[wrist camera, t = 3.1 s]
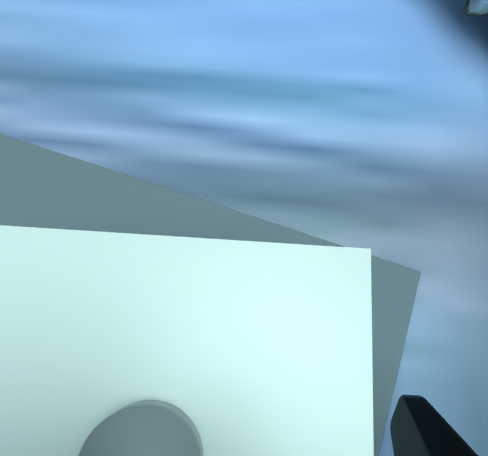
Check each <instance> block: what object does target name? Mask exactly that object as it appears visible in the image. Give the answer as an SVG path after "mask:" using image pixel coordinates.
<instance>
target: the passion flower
mask: <svg viewBox="0 0 488 456" xmlns="http://www.w3.org/2000/svg"><path fill="white" fill-rule="evenodd" d="M465 14H466V15H470V14H471V15H473V14H474V15H477V16H482V15H486V14H488V0H467V3H466V6H465Z"/></svg>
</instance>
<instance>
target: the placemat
mask: <svg viewBox="0 0 488 456" xmlns="http://www.w3.org/2000/svg"><path fill="white" fill-rule="evenodd" d="M0 225H4V226H20V227H35V228H51V229H67V230H83V231H98V232H114V233H130V234H146V235H161V236H177V237H193V238H209V239H224V240H240V241H256V242H272V243H287V244H303V245H319V246H335V247H344V246H341V245H338V244H335V243H332V242H329V241H326V240H323V239H319V238H316V237H313V236H310V235H307V234H304V233H301V232H298V231H295V230H292V229H289V228H286V227H283V226H280V225H277V224H274V223H271V222H268V221H265V220H262V219H259V218H255V217H252V216H249V215H246V214H243V213H240V212H237V211H234V210H231V209H228V208H225V207H222V206H219V205H216V204H213V203H210V202H207V201H204V200H201V199H198V198H195V197H192V196H188V195H185V194H182V193H179V192H176V191H173V190H170V189H167V188H164V187H161V186H158V185H155V184H152V183H149V182H146V181H143V180H140V179H137V178H134V177H131V176H128V175H124V174H121V173H118V172H115V171H112V170H109V169H106V168H103V167H100V166H97V165H94V164H91V163H88V162H85V161H82V160H79V159H76V158H73V157H70V156H67V155H64V154H60V153H57V152H54V151H51V150H48V149H45V148H42V147H39V146H36V145H33V144H30V143H27V142H24V141H21V140H18V139H15V138H12V137H9V136H6V135H3V134H0ZM420 273H421V272H420V271H417V270H414V269H411V268H408V267H405V266H402V265H399V264H396V263H393V262H390V261H386V260H383V259H380V258H377V257H374V256H371V296H372V368H373V441H374V456H379V452H380V447H381V443H382V439H383V434H384V430H385V426H386V421H387V417H388V412H389V408H390V404H391V399H392V395H393V391H394V386H395V382H396V378H397V373H398V369H399V365H400V360H401V356H402V352H403V347H404V343H405V338H406V334H407V330H408V325H409V321H410V317H411V312H412V308H413V304H414V299H415V295H416V291H417V286H418V282H419V278H420Z"/></svg>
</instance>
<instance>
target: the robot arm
mask: <svg viewBox="0 0 488 456" xmlns="http://www.w3.org/2000/svg"><path fill="white" fill-rule="evenodd" d="M390 429H391V438H392V444H393V450H394V456H478V455H477V454H476V453H475V452H474V451H473V450H472V449H471V447H470V446H469V445H468V444H467V443H466V442H465V441H464V440H463V439H462V438H461V437H460V436H459V434H458V433H457V432H456V431H455V430H454V429H453V428H452V427H451V426H450V425H449V424H448V423H447V422H446V420H445V419H444V418H443V417H442V416H441V415H440V414H439V413H438V412H437V411H436V410H435V409H434V407H433V406H432V405H431V404H430V403H429V402H428V401H427V400H426V399H425V398H424V397H422V396H419V395H402V396H401V397H400V398H399V401H398V403H397V406H396V409H395V411H394V414H393V417H392V420H391V426H390Z"/></svg>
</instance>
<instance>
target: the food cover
mask: <svg viewBox="0 0 488 456" xmlns="http://www.w3.org/2000/svg"><path fill="white" fill-rule="evenodd" d="M0 456H374V441H373V368H372V296H371V249H366V248H350V247H335V246H319V245H303V244H287V243H272V242H256V241H240V240H224V239H209V238H193V237H177V236H161V235H146V234H130V233H114V232H98V231H83V230H67V229H51V228H35V227H20V226H4V225H0Z"/></svg>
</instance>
